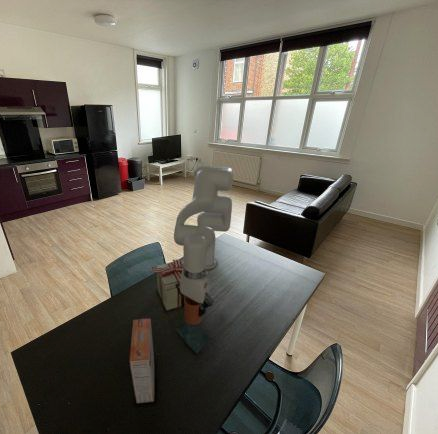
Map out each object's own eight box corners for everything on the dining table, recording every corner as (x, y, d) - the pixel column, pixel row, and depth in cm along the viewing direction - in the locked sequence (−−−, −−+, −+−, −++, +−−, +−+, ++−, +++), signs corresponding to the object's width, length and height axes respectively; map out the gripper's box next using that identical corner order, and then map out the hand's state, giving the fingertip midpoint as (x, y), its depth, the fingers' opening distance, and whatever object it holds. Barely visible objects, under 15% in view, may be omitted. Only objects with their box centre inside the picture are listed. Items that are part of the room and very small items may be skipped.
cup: (180, 318, 89) (180, 300, 85) (190, 307, 94) (191, 289, 90) (195, 328, 85) (196, 309, 81) (205, 316, 90) (206, 297, 86)
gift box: (180, 278, 126) (180, 250, 119) (198, 301, 111) (199, 272, 104) (150, 288, 120) (148, 259, 112) (164, 314, 104) (163, 283, 97)
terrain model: (211, 342, 92) (211, 338, 91) (196, 354, 88) (196, 351, 87) (188, 321, 101) (188, 318, 100) (174, 331, 97) (174, 328, 96)
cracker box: (137, 360, 86) (132, 318, 77) (154, 359, 86) (151, 317, 77) (134, 404, 73) (128, 360, 64) (154, 402, 73) (150, 358, 64)
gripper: (222, 274, 78) (218, 314, 86) (180, 256, 88) (180, 293, 95) (210, 287, 73) (208, 328, 80) (167, 266, 82) (168, 304, 90)
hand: (193, 309), depth 88 cm, fingers closed on cup, 6 cm apart
